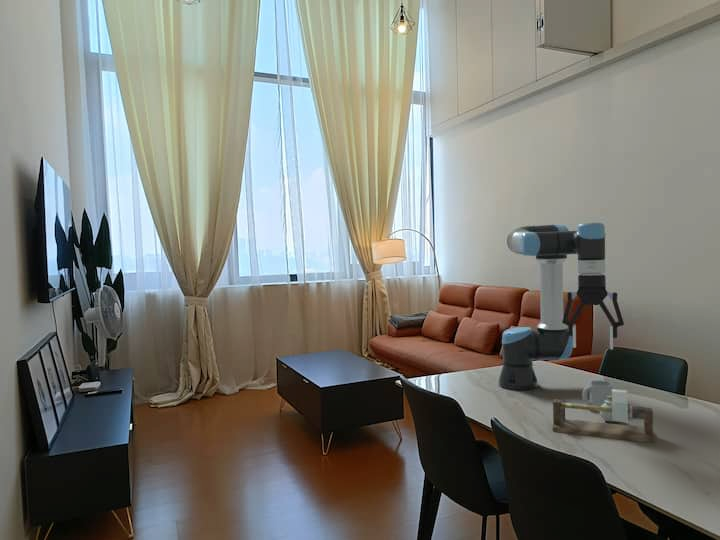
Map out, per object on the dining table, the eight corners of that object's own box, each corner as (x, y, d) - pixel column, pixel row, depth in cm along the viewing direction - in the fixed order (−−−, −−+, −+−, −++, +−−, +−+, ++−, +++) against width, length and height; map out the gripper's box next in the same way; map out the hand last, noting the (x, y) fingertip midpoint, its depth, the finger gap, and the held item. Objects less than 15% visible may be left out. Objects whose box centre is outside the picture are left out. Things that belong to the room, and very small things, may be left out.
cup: (616, 412, 169) (616, 385, 168) (586, 412, 170) (585, 386, 169) (608, 405, 176) (607, 380, 175) (578, 405, 177) (578, 380, 176)
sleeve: (612, 420, 148) (612, 392, 148) (612, 415, 153) (611, 388, 152) (627, 422, 146) (627, 393, 146) (627, 416, 151) (626, 389, 151)
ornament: (624, 424, 157) (623, 393, 156) (599, 424, 158) (598, 393, 157) (616, 418, 163) (615, 387, 162) (592, 418, 164) (592, 388, 163)
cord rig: (552, 431, 154) (552, 402, 153) (555, 421, 162) (554, 394, 161) (654, 443, 142) (653, 412, 142) (651, 432, 150) (650, 403, 150)
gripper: (551, 275, 152) (552, 348, 153) (634, 274, 142) (635, 352, 143) (553, 273, 159) (554, 343, 160) (632, 273, 149) (633, 347, 150)
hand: (592, 347), depth 152 cm, fingers open, 9 cm apart
